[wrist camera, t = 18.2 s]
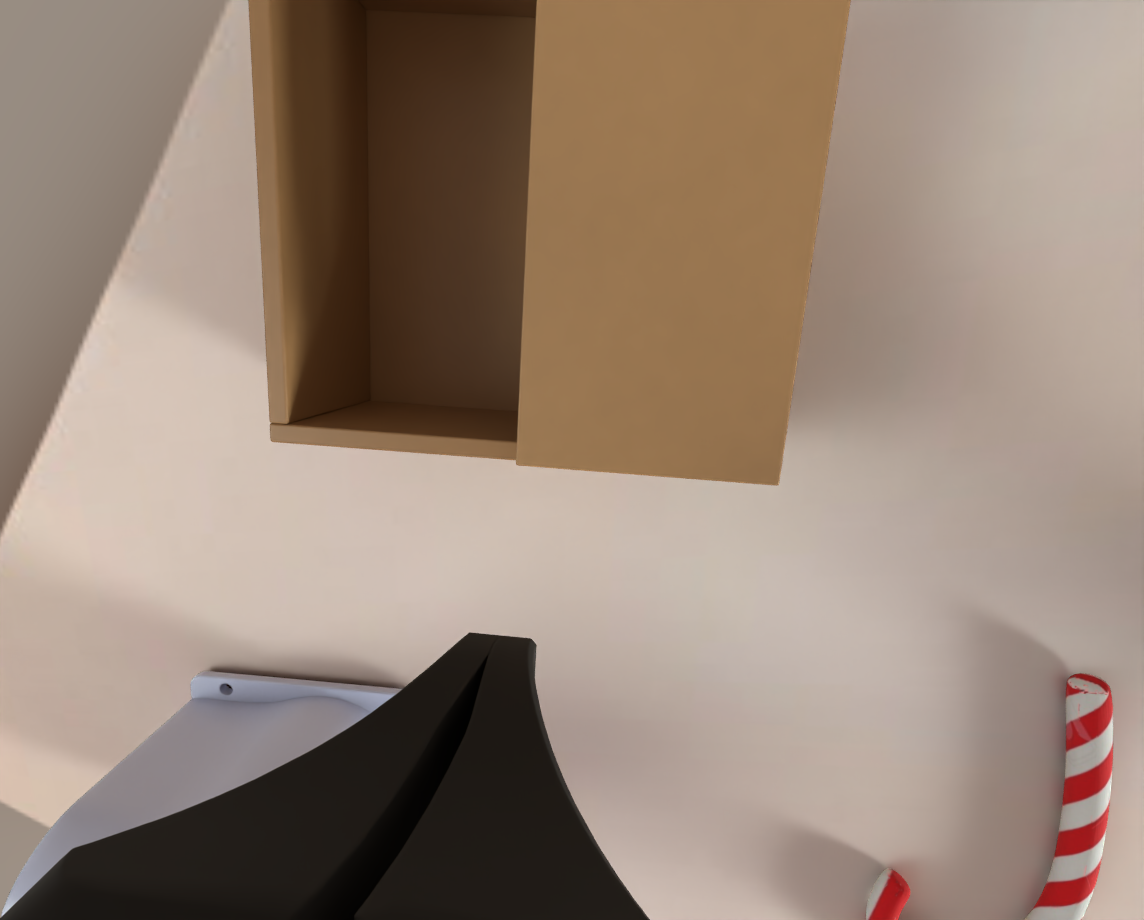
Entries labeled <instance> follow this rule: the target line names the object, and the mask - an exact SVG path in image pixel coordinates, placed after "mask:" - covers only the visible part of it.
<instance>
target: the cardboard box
mask: <svg viewBox="0 0 1144 920" xmlns="http://www.w3.org/2000/svg"><path fill="white" fill-rule="evenodd" d="M536 3H537V0H249V20H250V40H251V60H252V80H253V100H254V119H255V139H256V159H257V179H258V199H259V219H260V239H261V259H262V279H263V299H264V318H265V338H266V358H267V378H268V398H269V418H270V422H271V424H270V438H271V441H272V442H280V443H293V444H307V445H320V446H333V447H347V448H360V449H373V450H386V451H400V452H413V453H426V454H440V455H453V456H466V457H479V458H493V459H506V460H516V451H517V429H518V406H519V384H520V362H521V339H522V317H523V294H524V272H525V250H526V227H527V205H528V183H529V160H530V138H531V115H532V93H533V71H534V48H535V26H536Z"/></svg>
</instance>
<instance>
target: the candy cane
mask: <svg viewBox="0 0 1144 920" xmlns="http://www.w3.org/2000/svg"><path fill="white" fill-rule="evenodd" d="M1112 762H1113V705H1112V696H1111V690H1110V687H1109V685H1108V684H1107V683H1106V682H1105V681H1104V680H1102V679H1101V678H1099V677H1097V676H1094V675H1091V674H1082V673H1080V674H1074V675H1072V676H1070V678H1069V679H1068V680H1067V687H1066V766H1065V782H1064V793H1063V803H1062V812H1061V820H1060V827H1059V834H1058V840H1057V846H1056V851H1055V856H1054V860H1053V864H1052V868H1051V871H1050V874H1049V877H1048V880H1047V882H1046V885H1045V887H1044V890H1043V892H1042V894H1041V896H1040V898H1039V899H1038V901H1037V903H1036V905H1035V906H1034V908H1033V909H1032V910H1031V912H1030V913H1029V915H1028V916H1027V917H1026V918H1025V919H1024V920H1082V918H1083V916H1084V914H1085V911H1086V909H1087V907H1088V905H1089V902H1090V900H1091V897H1092V894H1093V891H1094V888H1095V884H1096V881H1097V877H1098V873H1099V869H1100V864H1101V858H1102V853H1103V847H1104V841H1105V835H1106V828H1107V820H1108V812H1109V803H1110V793H1111V781H1112ZM909 896H910V888H909V886H908V884H907V883H906V881H905V880H904V879H903V878H902V876H901V875H899V874H898V873H897V872H896V871H894V870H893V869H889V868H887V869H885V870H884V871H883V872H882V873H881V874H880V876H879V877H878V879H877V880H876V882H875V884H874V886H873V888H872V891H871V894H870V896H869V900H868V903H867V909H866V920H898V919H899V915H900V913H901V911H902V909H903V907H904V905H905V904H906V902H907V900H908V899H909Z"/></svg>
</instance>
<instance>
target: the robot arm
mask: <svg viewBox="0 0 1144 920" xmlns="http://www.w3.org/2000/svg"><path fill="white" fill-rule="evenodd" d="M535 661H536V644H535V643H534V641H533V640H532V639H530V638H520V637H510V636H499V635H489V634H479V633H468V634H467V635H466V636H465V637H463V638H462V639H461V640H460V641H459V642H457V643H456V644H455V645H454V646H453V647H452V648H451V649H450V650H448V651H447V652H446V653H445V654H444V655H443V656H442V657H440V658H439V659H438V660H437V661H436V662H435V663H434V664H432V665H431V666H430V667H429V668H428V669H427V670H425V671H424V672H423V673H422V674H420V675H419V676H418V677H417V678H416V679H414V680H413V681H412V682H411V683H410V684H408V685H407V686H406V687H405V688H403V689H398V688H387V687H376V686H365V685H354V684H344V683H333V682H322V681H311V680H300V679H289V678H278V677H267V676H256V675H245V674H234V673H223V672H212V671H202V672H200V673H198V674H197V675H196V676H195V677H194V678H193V679H192V680H191V697H192V699H191V700H190V701H189V702H188V703H187V704H185V705H184V706H183V707H182V708H181V709H180V710H179V711H178V712H176V713H175V714H174V715H173V716H172V717H171V718H170V719H169V720H167V721H166V722H165V723H164V724H163V725H162V726H161V727H160V728H158V729H157V730H156V731H155V732H154V733H153V734H152V735H150V736H149V737H148V738H147V739H146V740H145V741H144V742H143V743H141V744H140V745H139V746H138V747H137V748H136V749H135V750H134V751H132V752H131V753H130V754H129V755H128V756H127V757H126V758H125V759H123V760H122V761H121V762H120V763H119V764H118V765H117V766H116V767H114V768H113V769H112V770H111V771H110V772H109V773H108V774H107V775H105V776H104V777H103V778H102V779H101V780H100V781H99V782H97V783H96V784H95V785H94V786H93V787H92V788H91V789H90V790H88V791H87V792H86V793H85V794H84V795H83V796H82V797H81V798H79V799H78V800H77V801H76V802H75V803H74V804H73V805H72V806H71V807H70V808H69V809H68V810H67V811H66V812H65V813H64V814H63V815H62V816H61V817H60V818H59V819H58V820H57V821H56V823H55V824H54V825H53V826H52V827H51V829H50V830H49V831H48V832H47V833H46V835H45V836H44V838H43V839H42V840H41V842H40V843H39V844H38V846H37V847H36V849H35V850H34V852H33V853H32V855H31V856H30V858H29V859H28V861H27V862H26V864H25V866H24V867H23V869H22V871H21V872H20V874H19V876H18V878H17V879H16V882H15V883H14V885H13V887H12V889H11V891H10V894H9V896H8V898H7V901H6V903H5V906H4V908H3V911H2V915H1V918H0V920H650V919H649V918H648V917H647V916H646V914H645V913H644V912H643V910H642V909H641V908H640V906H639V905H638V904H637V902H636V901H635V900H634V898H633V897H632V896H631V894H630V893H629V891H628V890H627V889H626V887H625V886H624V884H623V883H622V881H621V880H620V879H619V877H618V876H617V874H616V873H615V871H614V870H613V868H612V866H611V865H610V863H609V862H608V860H607V859H606V857H605V856H604V854H603V852H602V851H601V849H600V848H599V846H598V844H597V843H596V841H595V839H594V837H593V835H592V833H591V832H590V830H589V828H588V826H587V824H586V823H585V821H584V819H583V817H582V815H581V813H580V812H579V810H578V808H577V806H576V804H575V802H574V800H573V798H572V796H571V794H570V791H569V789H568V787H567V785H566V783H565V781H564V778H563V776H562V773H561V771H560V768H559V766H558V764H557V761H556V758H555V756H554V753H553V750H552V747H551V744H550V741H549V738H548V735H547V731H546V728H545V725H544V721H543V717H542V714H541V710H540V705H539V700H538V695H537V690H536V684H535ZM226 684H229V685H230V686H231V687H232V689H230V688H229V687H228V686H227V685H226Z"/></svg>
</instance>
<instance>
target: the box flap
mask: <svg viewBox="0 0 1144 920" xmlns="http://www.w3.org/2000/svg"><path fill="white" fill-rule="evenodd" d="M850 1H851V0H537V3H536V26H535V48H534V71H533V93H532V115H531V138H530V160H529V183H528V205H527V227H526V250H525V272H524V294H523V317H522V339H521V362H520V384H519V406H518V429H517V451H516V465H519V466H532V467H545V468H558V469H571V470H584V471H597V472H610V473H622V474H635V475H648V476H661V477H674V478H687V479H700V480H712V481H725V482H738V483H751V484H764V485H779V481H780V474H781V467H782V461H783V454H784V447H785V440H786V434H787V427H788V420H789V413H790V406H791V400H792V393H793V386H794V379H795V373H796V366H797V359H798V352H799V346H800V339H801V332H802V325H803V319H804V312H805V305H806V298H807V292H808V285H809V278H810V271H811V265H812V258H813V251H814V244H815V238H816V231H817V224H818V217H819V211H820V204H821V197H822V190H823V184H824V177H825V170H826V163H827V157H828V150H829V143H830V136H831V130H832V123H833V116H834V109H835V103H836V96H837V89H838V82H839V76H840V69H841V62H842V55H843V49H844V42H845V35H846V28H847V22H848V15H849V8H850Z"/></svg>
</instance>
